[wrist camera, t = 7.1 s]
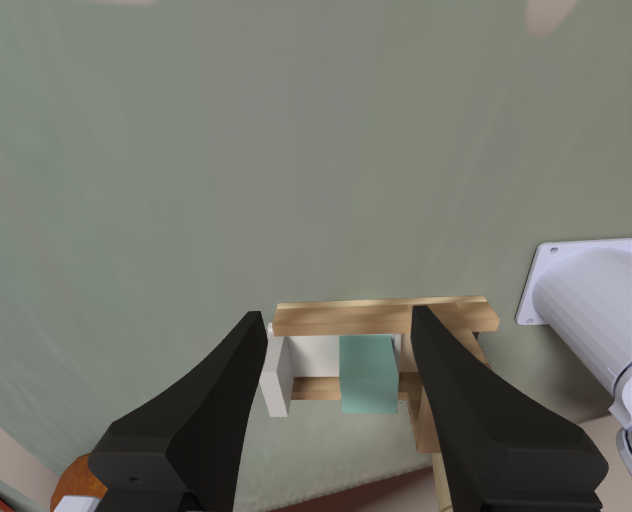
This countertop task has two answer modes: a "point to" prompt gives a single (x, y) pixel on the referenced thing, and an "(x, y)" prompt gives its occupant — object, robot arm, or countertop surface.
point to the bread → (77, 482)
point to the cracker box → (5, 507)
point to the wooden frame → (386, 318)
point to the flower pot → (441, 484)
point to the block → (367, 374)
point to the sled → (301, 364)
